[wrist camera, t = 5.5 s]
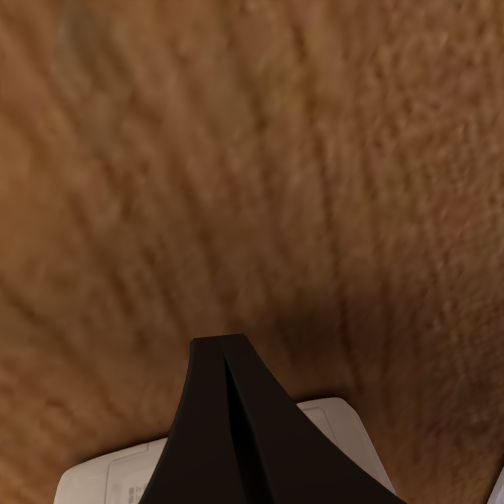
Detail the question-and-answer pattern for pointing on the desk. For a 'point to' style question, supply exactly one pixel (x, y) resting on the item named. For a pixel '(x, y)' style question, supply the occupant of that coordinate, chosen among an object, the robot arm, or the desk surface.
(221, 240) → the desk surface
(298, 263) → the desk surface
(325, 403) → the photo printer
